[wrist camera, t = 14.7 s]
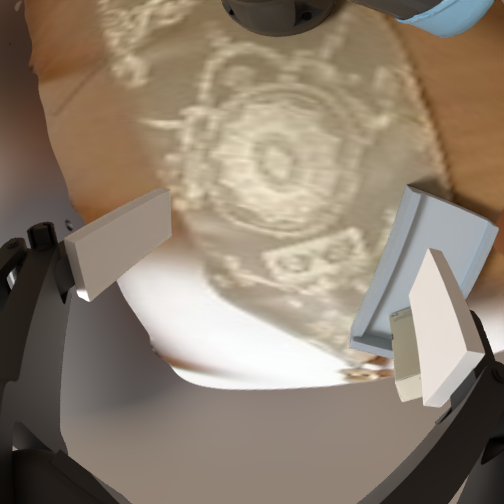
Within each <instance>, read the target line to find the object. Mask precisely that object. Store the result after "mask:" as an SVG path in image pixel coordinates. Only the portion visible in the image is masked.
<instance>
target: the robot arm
mask: <svg viewBox="0 0 504 504" xmlns="http://www.w3.org/2000/svg"><path fill="white" fill-rule="evenodd" d="M221 1H222V4H223V7H224V9H225V10H226V12H227V13H228V14H229V16H230V17H231V18H232V19H233V20H234V21H236V22H237V23H238V24H240V25H241V26H242V27H244V28H245V29H247V30H249V31H251V32H254V33H257V34H260V35H265V36H274V37H282V36H291V35H296V34H299V33H302V32H305V31H308V30H310V29H312V28H314V27H315V26H317V25H319V24H320V23H321V22H322V21H324V20H325V19H326V18H327V17H328V15H329V14H330V13H331V11H332V9H333V7H334V5H335V2H336V0H221ZM346 1H350V2H353V3H356V4H359V5H362V6H365V7H368V8H370V9H373V10H376V11H379V12H381V13H384V14H386V15H389V16H391V17H393V18H395V19H396V21H399V22H401V23H404V24H411V25H413V26H416V27H418V28H420V29H423V30H425V31H427V32H429V33H431V34H433V35H436V36H439V37H452V36H457V35H460V34H462V33H464V32H466V31H467V30H469V29H470V28H472V27H473V26H474V25H475V24H476V23H477V22H478V21H479V20H480V19H481V18H482V17H483V16H484V15H485V14H486V12H487V11H488V10H489V9H490V7H491V6H492V4H493V3H494V1H495V0H346ZM27 233H28V238H29V242H30V245H31V249H29V248H27V246H26V242H25V240H24V238H12V239H10V240H9V241H8V242H6V243H5V244H4V245H3V246H2V247H1V248H0V504H131V503H130V502H129V501H128V500H127V499H126V498H125V497H124V496H123V495H122V494H120V493H118V492H117V491H116V490H114V489H113V488H111V487H109V486H108V485H107V484H105V483H104V482H102V481H101V480H100V479H98V478H97V477H95V476H94V475H93V474H91V473H90V472H89V471H87V470H86V469H85V468H83V467H82V466H81V465H79V464H78V463H77V462H76V461H74V460H73V459H72V458H70V457H69V456H68V451H67V448H66V444H65V442H64V440H63V437H62V435H61V432H60V389H61V373H62V361H63V351H64V343H65V335H66V328H67V321H68V314H69V309H70V303H71V298H72V293H71V290H70V288H71V287H73V286H74V285H75V286H76V289H77V293H78V296H79V297H81V298H83V299H85V300H87V301H89V302H90V301H92V300H93V299H94V298H95V297H96V296H97V295H99V294H100V293H101V292H102V291H103V290H105V289H106V288H107V287H108V286H109V285H111V283H113V282H114V281H115V280H117V279H118V278H119V277H120V276H122V275H123V274H124V273H125V272H126V271H128V270H129V269H130V268H131V267H133V266H134V265H135V264H136V263H138V262H139V261H140V260H141V259H143V258H144V257H145V256H146V255H148V254H149V253H150V252H152V251H153V250H154V249H155V248H157V247H158V246H159V245H161V244H162V243H163V242H164V241H166V240H167V239H168V238H170V237H171V236H172V234H171V202H170V189H164V188H157V189H155V190H153V191H151V192H149V193H146V194H144V195H142V196H140V197H138V198H136V199H134V200H132V201H130V202H129V203H127V204H125V205H123V206H121V207H119V208H117V209H115V210H113V211H111V212H109V213H108V214H106V215H104V216H102V217H100V218H98V219H97V220H95V221H93V222H91V223H89V224H88V225H86V226H84V227H82V228H81V229H79V230H77V231H76V232H74V233H72V234H70V235H69V236H67V237H66V238H64V240H63V241H61V242H60V243H58V242H57V237H56V232H55V228H54V224H53V223H51V222H42V223H39V224H36V225H34V226H32V227H30V228H29V229H28V230H27ZM9 274H10V277H11V279H12V282H13V288H12V290H11V289H10V287H9V284H8V281H7V276H8V275H9ZM409 299H410V304H411V310H412V315H413V321H414V326H415V333H416V339H417V346H418V353H419V361H420V370H421V380H422V392H423V405H424V406H434V407H441V406H442V405H443V404H444V403H445V402H446V401H447V400H448V399H449V398H450V399H451V407H450V408H449V409H448V410H447V411H446V412H445V413H444V414H443V415H442V416H441V417H440V418H439V419H438V420H437V421H436V422H435V424H436V425H435V426H434V428H433V429H432V430H431V431H430V432H429V434H428V435H427V436H426V437H425V438H424V440H423V441H422V442H421V443H420V444H419V445H418V446H417V448H416V449H415V450H414V451H413V452H412V453H411V454H410V455H409V456H408V457H407V458H406V459H405V460H404V461H403V462H402V463H401V464H400V465H399V467H397V468H396V469H395V470H394V471H393V472H392V473H391V474H390V475H389V476H388V477H387V478H386V479H385V480H384V481H383V482H382V483H381V484H379V485H378V486H377V487H376V488H375V489H374V490H373V491H371V492H370V493H369V494H368V495H367V496H366V497H364V498H363V499H362V500H361V501H359V502H358V503H357V504H448V503H449V502H450V501H451V499H452V498H453V497H454V495H455V494H456V492H457V491H458V490H459V488H460V487H461V485H462V484H463V482H464V481H465V479H466V478H467V476H468V475H469V477H468V479H467V482H466V484H465V486H464V489H463V491H462V493H461V495H460V498H459V500H458V502H457V504H504V365H503V364H502V363H500V362H497V361H495V358H494V355H493V352H492V349H491V346H490V344H489V341H488V338H486V337H487V336H486V333H485V331H484V328H483V325H482V323H481V320H480V319H479V317H478V316H477V315H476V314H475V312H474V311H472V310H469V308H468V306H467V303H466V301H465V298H464V296H463V294H462V292H461V289H460V287H459V285H458V283H457V281H456V279H455V277H454V274H453V272H452V270H451V268H450V266H449V264H448V262H447V260H446V258H445V256H444V255H443V253H442V251H440V250H436V249H433V248H429V247H428V249H427V252H426V254H425V257H424V260H423V262H422V265H421V267H420V270H419V272H418V275H417V277H416V279H415V282H414V284H413V286H412V289H411V291H410V293H409ZM12 445H13V446H14V447H15V448H17V449H18V450H16V451H12ZM469 473H470V474H469Z"/></svg>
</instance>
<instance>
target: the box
mask: <svg viewBox="0 0 504 504" xmlns="http://www.w3.org/2000/svg"><path fill="white" fill-rule="evenodd" d="M389 323H390V331H391V339H392V348H393V359H394V371H395V383H396V387H397V390H398V393H399V396H400V398H401V401H402V402H405V401H408V400H412V399H415V398H419V397H422V396H423V392H422V380H421V370H420V361H419V353H418V346H417V339H416V333H415V326H414V321H413V315H412V310H411V307H410V308H407V309H404V310H402V311H399V312H396V313H394V314H391V315H389Z"/></svg>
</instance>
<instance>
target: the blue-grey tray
mask: <svg viewBox="0 0 504 504" xmlns="http://www.w3.org/2000/svg"><path fill="white" fill-rule="evenodd" d="M498 230H499V228H498V227H497V226H496V225H495V224H494V223H493V222H491V221H490V220H489V219H488V218H486V217H484V216H482V215H479V214H477V213H475V212H473V211H471V210H468V209H466V208H464V207H461V206H459V205H457V204H454V203H452V202H450V201H447V200H445V199H442V198H440V197H437V196H435V195H432V194H430V193H427V192H424V191H422V190H419V189H416V188H414V187H411V186H408V185H406V187H405V191H404V194H403V197H402V200H401V203H400V207H399V210H398V213H397V216H396V219H395V222H394V224H393V227H392V230H391V233H390V236H389V238H388V241H387V244H386V247H385V249H384V252H383V254H382V257H381V260H380V262H379V265H378V267H377V270H376V272H375V275H374V277H373V279H372V282H371V284H370V286H369V289H368V291H367V293H366V296H365V298H364V300H363V302H362V305H361V307H360V309H359V311H358V313H357V315H356V318H355V320H354V322H353V324H352V326H351V334H350V347H349V348H352V349H356V350H359V351H363V352H367V353H371V354H375V355H379V356H383V357H387V358H391V359H393V348H392V339H391V331H390V323H389V315H391V314H394V313H396V312H399V311H402V310H404V309H407V308H410V307H411V304H410V299H409V293H410V291H411V289H412V286H413V284H414V282H415V279H416V277H417V275H418V272H419V270H420V267H421V265H422V262H423V260H424V257H425V254H426V252H427V249H428V247H429V248H433V249H436V250H440V251H442V253H443V255H444V256H445V258H446V260H447V262H448V264H449V266H450V268H451V270H452V272H453V274H454V277H455V279H456V281H457V283H458V285H459V287H460V289H461V292H462V294H463V296H464V298H465V300H466V298H467V297H468V295H469V293H470V291H471V289H472V287H473V285H474V283H475V281H476V280H477V278H478V276H479V274H480V271H481V269H482V267H483V265H484V263H485V261H486V259H487V257H488V254H489V252H490V250H491V247H492V245H493V243H494V240H495V238H496V235H497V233H498Z"/></svg>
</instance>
